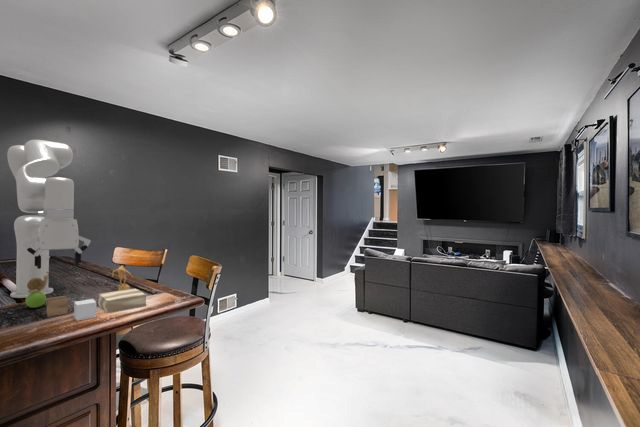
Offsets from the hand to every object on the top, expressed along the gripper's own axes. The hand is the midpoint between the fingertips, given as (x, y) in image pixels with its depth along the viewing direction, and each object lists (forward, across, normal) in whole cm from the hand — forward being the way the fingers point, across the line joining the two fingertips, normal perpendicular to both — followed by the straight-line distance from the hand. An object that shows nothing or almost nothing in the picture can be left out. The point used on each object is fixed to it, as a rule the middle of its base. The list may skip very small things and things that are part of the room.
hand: (58, 266), depth 104 cm
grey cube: (+16, +6, -9) cm, 19 cm away
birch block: (+16, +18, -3) cm, 24 cm away
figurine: (+16, +22, +13) cm, 30 cm away
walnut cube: (+16, 0, +1) cm, 16 cm away
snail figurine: (+16, -4, +13) cm, 21 cm away
